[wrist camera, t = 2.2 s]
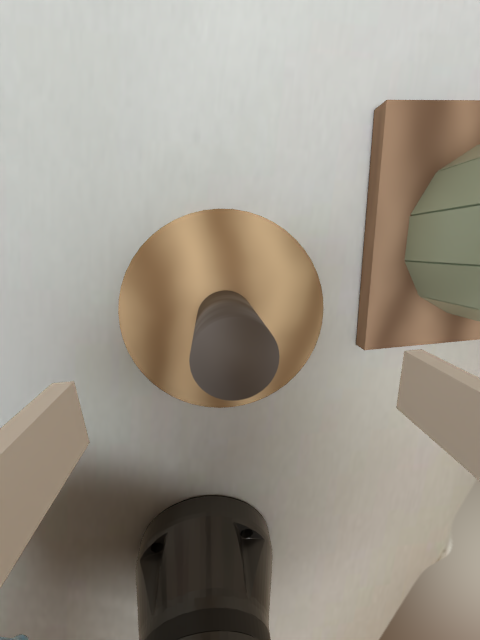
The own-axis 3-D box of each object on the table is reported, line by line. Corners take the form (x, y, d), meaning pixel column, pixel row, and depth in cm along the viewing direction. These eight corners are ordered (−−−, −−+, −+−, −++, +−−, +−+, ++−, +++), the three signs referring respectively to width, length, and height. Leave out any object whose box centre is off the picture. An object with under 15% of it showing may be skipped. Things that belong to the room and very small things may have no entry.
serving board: (355, 344, 26) (364, 350, 25) (374, 110, 21) (386, 99, 19) (531, 328, 28) (548, 332, 27) (589, 110, 23) (615, 101, 21)
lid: (139, 409, 26) (97, 509, 16) (105, 214, 21) (13, 185, 11) (315, 390, 27) (373, 469, 18) (321, 207, 23) (407, 175, 13)
